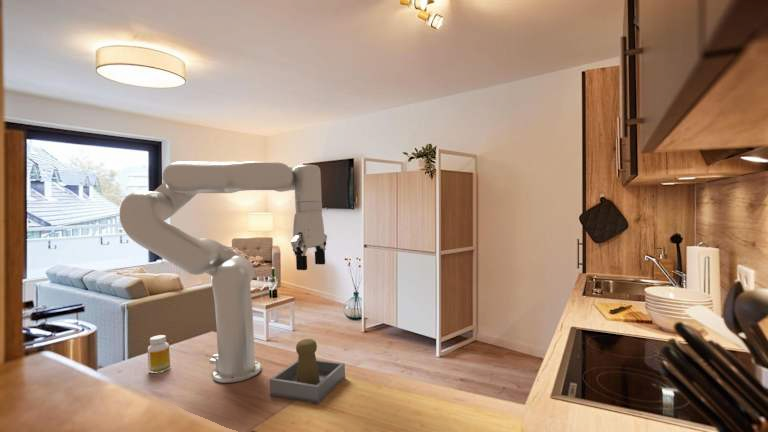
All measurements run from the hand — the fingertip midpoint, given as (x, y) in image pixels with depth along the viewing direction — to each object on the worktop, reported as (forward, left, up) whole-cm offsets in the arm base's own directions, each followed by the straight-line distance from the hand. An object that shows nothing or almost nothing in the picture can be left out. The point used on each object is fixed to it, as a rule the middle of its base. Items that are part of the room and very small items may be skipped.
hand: (311, 266), depth 110 cm
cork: (+6, -13, -28) cm, 31 cm away
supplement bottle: (-42, -17, -28) cm, 54 cm away
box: (+6, -13, -28) cm, 32 cm away
